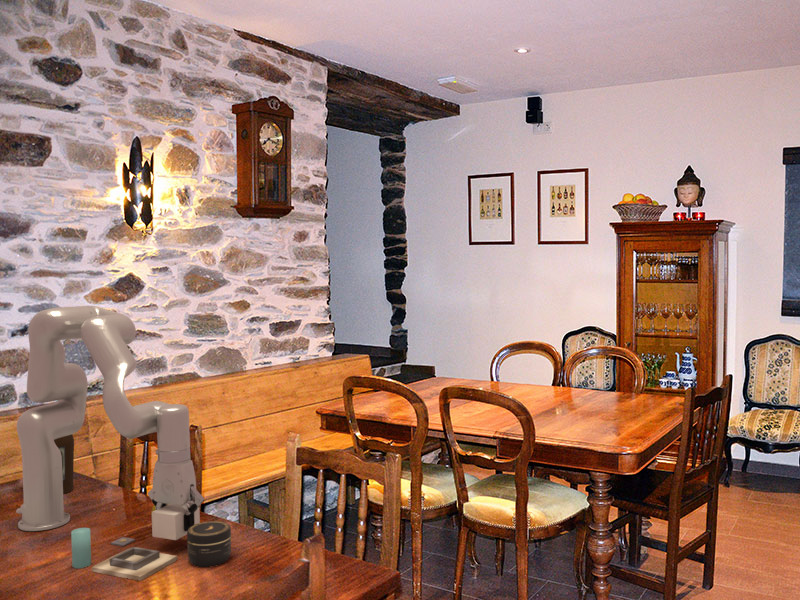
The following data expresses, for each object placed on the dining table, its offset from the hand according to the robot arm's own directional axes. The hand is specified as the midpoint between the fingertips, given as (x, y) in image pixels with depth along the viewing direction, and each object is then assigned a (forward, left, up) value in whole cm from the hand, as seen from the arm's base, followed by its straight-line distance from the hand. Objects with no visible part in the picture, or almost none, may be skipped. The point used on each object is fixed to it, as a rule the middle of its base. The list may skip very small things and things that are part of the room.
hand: (176, 526), depth 176 cm
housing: (0, 0, -1) cm, 1 cm away
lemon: (-11, +8, -5) cm, 15 cm away
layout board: (-1, -13, -5) cm, 14 cm away
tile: (-14, -3, -5) cm, 15 cm away
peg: (-13, -17, -5) cm, 22 cm away
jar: (+13, -4, -5) cm, 14 cm away
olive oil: (-64, +22, -5) cm, 68 cm away
